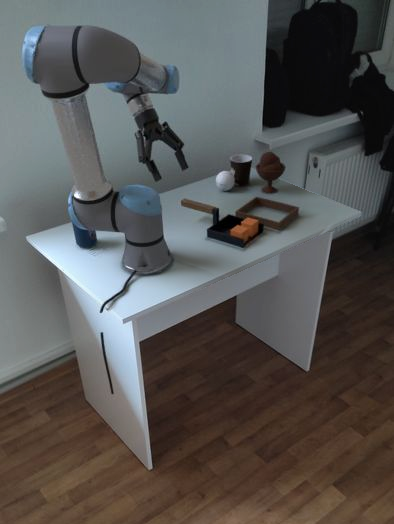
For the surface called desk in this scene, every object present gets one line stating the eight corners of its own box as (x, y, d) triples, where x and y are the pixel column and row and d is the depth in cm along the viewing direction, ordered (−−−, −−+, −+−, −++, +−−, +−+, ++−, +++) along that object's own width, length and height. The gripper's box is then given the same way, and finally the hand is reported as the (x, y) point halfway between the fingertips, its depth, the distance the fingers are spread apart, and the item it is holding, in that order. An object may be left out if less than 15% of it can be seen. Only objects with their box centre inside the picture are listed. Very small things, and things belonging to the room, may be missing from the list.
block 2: (240, 233, 168) (241, 222, 166) (247, 228, 171) (247, 217, 168) (251, 236, 167) (252, 225, 164) (258, 231, 169) (258, 220, 166)
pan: (172, 228, 175) (170, 206, 170) (194, 213, 183) (193, 192, 178) (243, 250, 162) (243, 227, 157) (263, 233, 170) (264, 211, 165)
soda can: (97, 248, 166) (91, 214, 158) (76, 250, 165) (69, 216, 158) (97, 238, 171) (91, 205, 163) (77, 240, 171) (70, 207, 163)
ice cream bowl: (283, 196, 191) (286, 156, 181) (253, 195, 193) (255, 156, 183) (284, 185, 199) (287, 146, 189) (255, 184, 201) (257, 146, 191)
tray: (235, 220, 178) (235, 211, 175) (255, 205, 186) (256, 196, 184) (278, 232, 170) (279, 223, 167) (298, 216, 178) (299, 207, 176)
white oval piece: (211, 189, 198) (211, 171, 194) (226, 184, 202) (226, 166, 197) (228, 197, 192) (228, 178, 187) (242, 192, 195) (243, 173, 191)
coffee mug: (252, 187, 199) (253, 162, 192) (230, 188, 199) (230, 162, 192) (250, 176, 207) (251, 151, 201) (229, 176, 208) (229, 152, 201)
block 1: (230, 241, 165) (230, 230, 162) (237, 236, 167) (237, 224, 164) (241, 245, 163) (241, 233, 160) (248, 239, 165) (248, 227, 162)
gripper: (122, 115, 154) (153, 181, 159) (176, 100, 169) (203, 160, 174) (109, 125, 160) (140, 189, 165) (162, 110, 175) (189, 169, 180)
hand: (172, 174), depth 170 cm, fingers open, 13 cm apart
